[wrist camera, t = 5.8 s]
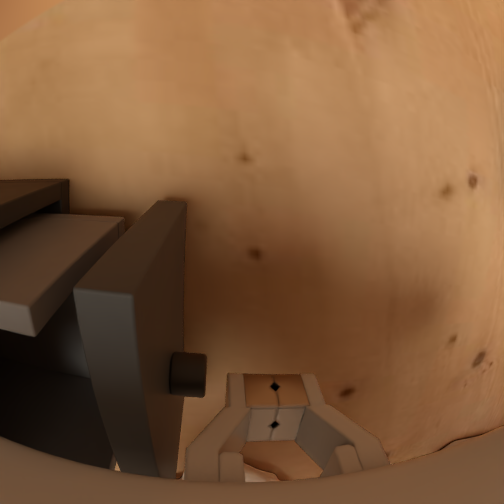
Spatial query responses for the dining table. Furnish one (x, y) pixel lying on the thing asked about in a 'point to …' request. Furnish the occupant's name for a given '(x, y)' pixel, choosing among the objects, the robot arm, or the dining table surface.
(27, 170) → the dining table surface
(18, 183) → the cabinet
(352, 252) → the dining table surface
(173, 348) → the drawer
